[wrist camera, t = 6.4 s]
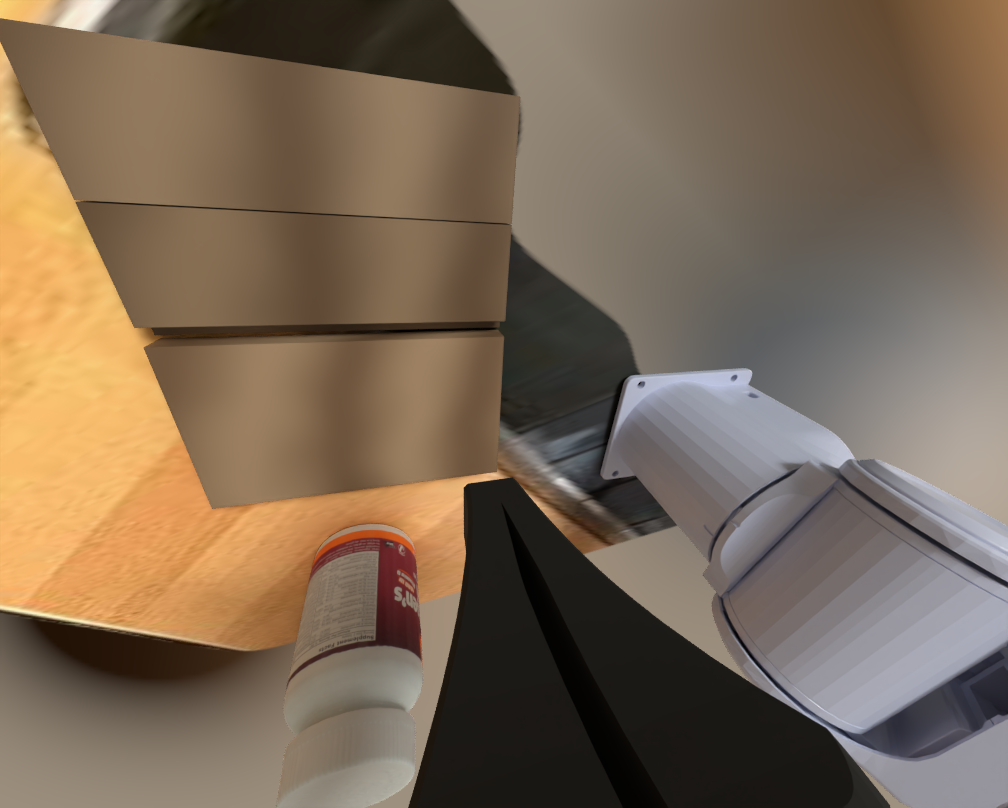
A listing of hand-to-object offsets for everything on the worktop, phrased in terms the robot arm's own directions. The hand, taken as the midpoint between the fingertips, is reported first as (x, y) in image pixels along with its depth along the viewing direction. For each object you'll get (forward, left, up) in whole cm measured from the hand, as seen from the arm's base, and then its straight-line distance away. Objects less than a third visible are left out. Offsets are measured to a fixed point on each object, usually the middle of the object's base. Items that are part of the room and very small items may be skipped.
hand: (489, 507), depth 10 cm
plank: (+4, +3, -10) cm, 11 cm away
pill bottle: (+5, +13, -10) cm, 18 cm away
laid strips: (+4, -6, -10) cm, 13 cm away
